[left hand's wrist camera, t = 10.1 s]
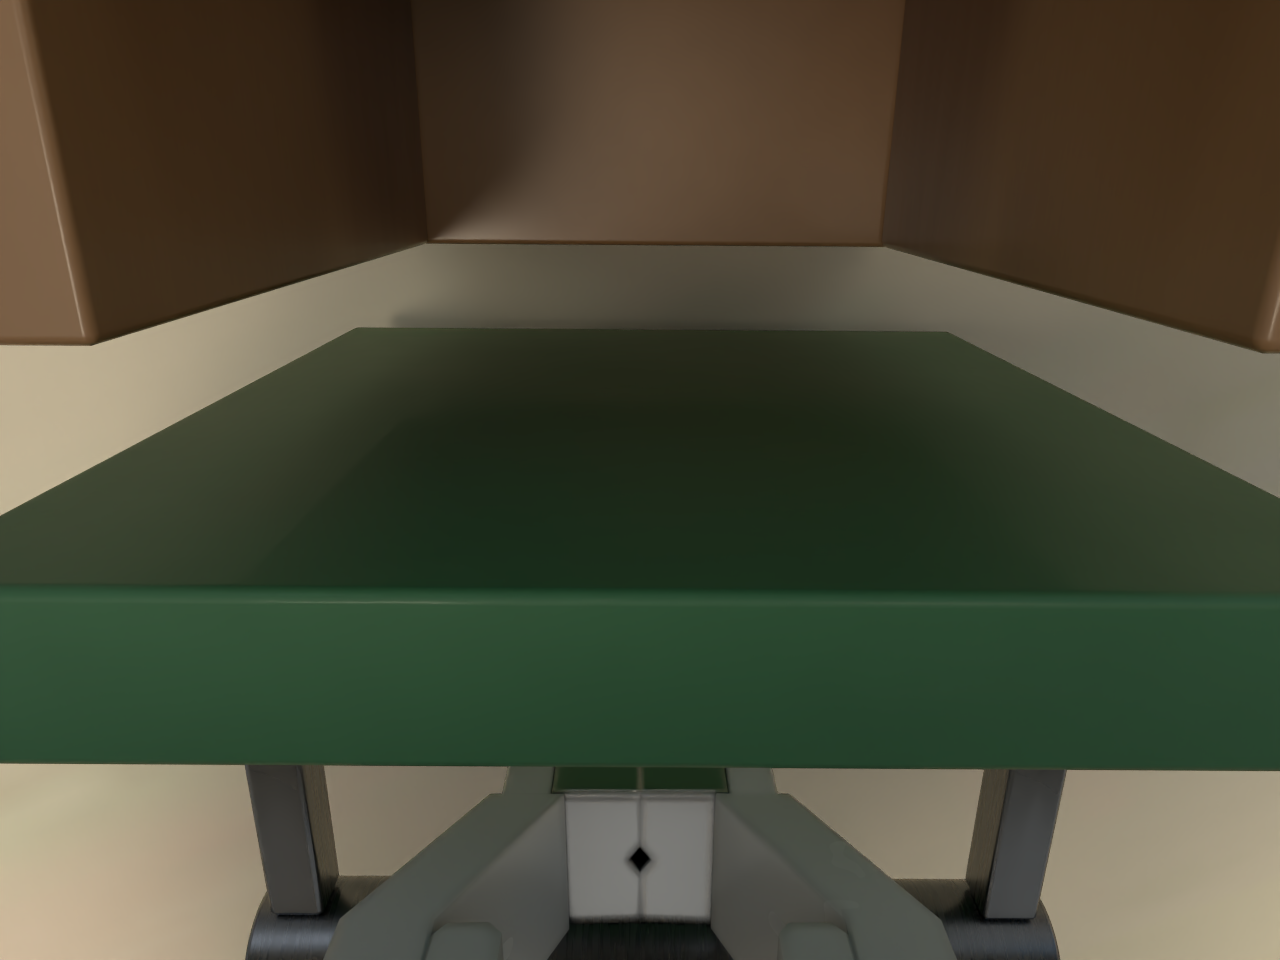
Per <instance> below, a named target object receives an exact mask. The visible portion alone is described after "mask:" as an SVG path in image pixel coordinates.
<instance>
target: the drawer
mask: <svg viewBox="0 0 1280 960" xmlns="http://www.w3.org/2000/svg"><path fill="white" fill-rule="evenodd" d="M425 243H433V244H565V245H698V246H831V247H887V248H890V249H894V250H898V251H901V252H905V253H908V254H912V255H915V256H919V257H922V258H926V259H929V260H933V261H937V262H940V263H944V264H947V265H951V266H954V267H958V268H961V269H965V270H969V271H972V272H976V273H979V274H983V275H986V276H990V277H993V278H997V279H1001V280H1004V281H1008V282H1011V283H1015V284H1018V285H1022V286H1025V287H1029V288H1032V289H1036V290H1040V291H1043V292H1047V293H1050V294H1054V295H1057V296H1061V297H1064V298H1068V299H1072V300H1075V301H1079V302H1082V303H1086V304H1089V305H1093V306H1096V307H1100V308H1104V309H1107V310H1111V311H1114V312H1118V313H1121V314H1125V315H1128V316H1132V317H1135V318H1139V319H1143V320H1146V321H1150V322H1153V323H1157V324H1160V325H1164V326H1167V327H1171V328H1175V329H1178V330H1182V331H1185V332H1189V333H1192V334H1196V335H1199V336H1203V337H1207V338H1210V339H1214V340H1217V341H1221V342H1224V343H1228V344H1231V345H1235V346H1238V347H1242V348H1246V349H1249V350H1253V351H1256V352H1260V353H1280V0H0V345H64V346H92V345H95V344H98V343H102V342H105V341H108V340H112V339H115V338H118V337H121V336H125V335H128V334H131V333H134V332H138V331H141V330H144V329H147V328H151V327H154V326H157V325H161V324H164V323H167V322H170V321H174V320H177V319H180V318H183V317H187V316H190V315H193V314H197V313H200V312H203V311H206V310H210V309H213V308H216V307H219V306H223V305H226V304H229V303H233V302H236V301H239V300H242V299H246V298H249V297H252V296H255V295H259V294H262V293H265V292H269V291H272V290H275V289H278V288H282V287H285V286H288V285H291V284H295V283H298V282H301V281H304V280H308V279H311V278H314V277H318V276H321V275H324V274H327V273H331V272H334V271H337V270H340V269H344V268H347V267H350V266H354V265H357V264H360V263H363V262H367V261H370V260H373V259H376V258H380V257H383V256H386V255H390V254H393V253H396V252H399V251H403V250H406V249H409V248H412V247H416V246H419V245H422V244H425ZM0 763H19V764H186V765H245V769H246V775H247V780H248V786H249V791H250V797H251V803H252V808H253V814H254V820H255V825H256V831H257V837H258V842H259V848H260V853H261V859H262V865H263V870H264V876H265V882H266V887H267V892H266V894H265V896H264V897H263V899H262V902H261V904H260V906H259V908H258V911H257V914H256V916H255V919H254V922H253V926H252V929H251V933H250V937H249V941H248V946H247V952H246V958H245V960H323V959H324V956H325V954H326V951H327V949H328V946H329V944H330V942H331V939H332V937H333V934H334V932H335V929H336V927H337V924H338V922H339V919H340V918H341V917H342V916H344V915H345V914H346V913H347V912H348V911H350V910H351V909H352V908H353V907H354V906H356V905H357V904H358V903H359V902H360V901H362V900H363V899H364V898H365V897H367V896H368V895H369V894H370V893H371V892H373V891H374V890H375V889H376V888H377V887H379V886H380V885H381V884H382V883H383V882H385V881H386V880H387V879H388V878H389V877H391V876H339V871H338V864H337V857H336V849H335V842H334V835H333V828H332V821H331V814H330V807H329V800H328V792H327V785H326V778H325V771H324V765H354V766H522V767H689V768H857V769H984V772H983V778H982V784H981V790H980V796H979V801H978V807H977V813H976V819H975V825H974V831H973V837H972V842H971V848H970V854H969V860H968V866H967V872H966V879H892V880H894V881H895V882H896V883H897V884H898V885H900V886H901V887H902V888H903V889H904V890H906V891H907V892H908V893H909V894H910V895H912V896H913V897H914V898H915V899H916V900H918V901H919V902H920V903H921V904H922V905H924V906H925V907H926V908H927V909H928V910H930V911H931V912H932V913H933V914H934V915H936V916H937V917H938V918H939V919H940V920H941V921H942V923H943V926H944V928H945V931H946V933H947V936H948V938H949V941H950V943H951V946H952V948H953V951H954V953H955V956H956V958H957V960H1060V956H1059V950H1058V946H1057V941H1056V937H1055V934H1054V930H1053V927H1052V924H1051V921H1050V919H1049V916H1048V914H1047V911H1046V909H1045V907H1044V905H1043V903H1042V901H1041V900H1040V895H1041V890H1042V885H1043V881H1044V876H1045V871H1046V866H1047V862H1048V857H1049V852H1050V847H1051V843H1052V838H1053V833H1054V828H1055V824H1056V819H1057V814H1058V809H1059V805H1060V800H1061V795H1062V790H1063V786H1064V781H1065V776H1066V771H1067V770H1192V771H1280V498H1278V497H1276V496H1274V495H1272V494H1270V493H1268V492H1266V491H1264V490H1262V489H1260V488H1258V487H1256V486H1254V485H1252V484H1250V483H1248V482H1246V481H1244V480H1242V479H1240V478H1238V477H1236V476H1234V475H1232V474H1230V473H1228V472H1226V471H1224V470H1222V469H1220V468H1218V467H1216V466H1214V465H1212V464H1210V463H1208V462H1206V461H1204V460H1202V459H1200V458H1198V457H1196V456H1194V455H1192V454H1190V453H1188V452H1186V451H1184V450H1182V449H1180V448H1178V447H1176V446H1174V445H1172V444H1170V443H1168V442H1166V441H1164V440H1162V439H1160V438H1158V437H1156V436H1154V435H1152V434H1150V433H1148V432H1146V431H1144V430H1142V429H1140V428H1138V427H1136V426H1134V425H1132V424H1130V423H1128V422H1126V421H1124V420H1122V419H1120V418H1118V417H1116V416H1114V415H1112V414H1110V413H1108V412H1106V411H1104V410H1102V409H1100V408H1098V407H1096V406H1094V405H1092V404H1090V403H1088V402H1086V401H1084V400H1082V399H1080V398H1078V397H1076V396H1074V395H1072V394H1070V393H1068V392H1066V391H1064V390H1062V389H1060V388H1058V387H1056V386H1054V385H1052V384H1050V383H1048V382H1046V381H1044V380H1042V379H1040V378H1038V377H1036V376H1034V375H1032V374H1030V373H1028V372H1026V371H1024V370H1022V369H1020V368H1018V367H1016V366H1014V365H1012V364H1010V363H1008V362H1006V361H1004V360H1002V359H1000V358H998V357H996V356H994V355H992V354H990V353H988V352H986V351H984V350H982V349H980V348H978V347H976V346H974V345H972V344H970V343H968V342H966V341H964V340H962V339H960V338H958V337H956V336H954V335H952V334H950V333H948V332H894V331H756V330H619V329H482V328H355V329H353V330H351V331H349V332H347V333H345V334H344V335H342V336H340V337H338V338H336V339H334V340H332V341H330V342H328V343H326V344H325V345H323V346H321V347H319V348H317V349H315V350H313V351H311V352H309V353H308V354H306V355H304V356H302V357H300V358H298V359H296V360H294V361H292V362H290V363H289V364H287V365H285V366H283V367H281V368H279V369H277V370H275V371H273V372H272V373H270V374H268V375H266V376H264V377H262V378H260V379H258V380H256V381H255V382H253V383H251V384H249V385H247V386H245V387H243V388H241V389H239V390H237V391H236V392H234V393H232V394H230V395H228V396H226V397H224V398H222V399H220V400H219V401H217V402H215V403H213V404H211V405H209V406H207V407H205V408H203V409H202V410H200V411H198V412H196V413H194V414H192V415H190V416H188V417H186V418H184V419H183V420H181V421H179V422H177V423H175V424H173V425H171V426H169V427H167V428H166V429H164V430H162V431H160V432H158V433H156V434H154V435H152V436H150V437H148V438H147V439H145V440H143V441H141V442H139V443H137V444H135V445H133V446H131V447H130V448H128V449H126V450H124V451H122V452H120V453H118V454H116V455H114V456H113V457H111V458H109V459H107V460H105V461H103V462H101V463H99V464H97V465H95V466H94V467H92V468H90V469H88V470H86V471H84V472H82V473H80V474H78V475H77V476H75V477H73V478H71V479H69V480H67V481H65V482H63V483H61V484H60V485H58V486H56V487H54V488H52V489H50V490H48V491H46V492H44V493H42V494H41V495H39V496H37V497H35V498H33V499H31V500H29V501H27V502H25V503H24V504H22V505H20V506H18V507H16V508H14V509H12V510H10V511H8V512H7V513H5V514H3V515H1V516H0ZM547 960H733V958H732V957H731V955H730V954H729V953H728V951H727V950H726V949H725V947H724V946H723V944H722V943H721V942H720V940H719V939H718V937H717V936H716V935H715V933H714V932H713V930H712V929H711V924H681V923H646V922H632V923H598V924H569V930H568V931H567V933H566V934H565V935H564V937H563V938H562V940H561V941H560V942H559V944H558V945H557V947H556V948H555V949H554V951H553V952H552V953H551V955H550V956H549V958H548V959H547Z"/></svg>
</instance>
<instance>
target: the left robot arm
mask: <svg viewBox="0 0 1280 960" xmlns="http://www.w3.org/2000/svg"><path fill="white" fill-rule="evenodd" d="M632 922H646V923H681V924H711V929H712V930H713V932H714V933H715V935H716V936H717V937H718V939H719V940H720V942H721V943H722V944H723V946H724V947H725V949H726V950H727V951H728V953H729V954H730V955H731V957H732V958H733V960H957V958H956V956H955V953H954V951H953V948H952V946H951V943H950V941H949V938H948V936H947V933H946V931H945V928H944V926H943V923H942V921H941V920H940V919H939V918H938V917H937V916H936V915H934V914H933V913H932V912H931V911H930V910H928V909H927V908H926V907H925V906H924V905H922V904H921V903H920V902H919V901H918V900H916V899H915V898H914V897H913V896H912V895H910V894H909V893H908V892H907V891H906V890H904V889H903V888H902V887H901V886H900V885H898V884H897V883H896V882H895V881H894V880H892V879H891V878H890V877H889V876H888V875H886V874H885V873H884V872H883V871H882V870H880V869H879V868H878V867H877V866H876V865H874V864H873V863H872V862H871V861H870V860H868V859H867V858H866V857H865V856H864V855H862V854H861V853H860V852H859V851H858V850H856V849H855V848H854V847H853V846H852V845H850V844H849V843H848V842H847V841H846V840H844V839H843V838H842V837H841V836H840V835H838V834H837V833H836V832H835V831H834V830H832V829H831V828H830V827H829V826H828V825H826V824H825V823H824V822H823V821H822V820H820V819H819V818H818V817H817V816H816V815H814V814H813V813H812V812H811V811H810V810H808V809H807V808H806V807H805V806H804V805H802V804H801V803H800V802H799V801H798V800H796V799H795V798H794V797H793V796H792V795H790V794H778V793H777V788H776V784H775V779H774V775H773V770H772V768H689V767H522V766H508V770H507V774H506V779H505V783H504V788H503V792H502V794H490V795H488V796H487V797H486V798H485V799H484V800H482V801H481V802H480V803H479V804H477V805H476V806H475V807H474V808H473V809H471V810H470V811H469V812H468V813H467V814H465V815H464V816H463V817H462V818H461V819H459V820H458V821H457V822H456V823H455V824H453V825H452V826H451V827H450V828H449V829H447V830H446V831H445V832H444V833H443V834H441V835H440V836H439V837H438V838H436V839H435V840H434V841H433V842H432V843H430V844H429V845H428V846H427V847H426V848H424V849H423V850H422V851H421V852H420V853H418V854H417V855H416V856H415V857H414V858H412V859H411V860H410V861H409V862H408V863H406V864H405V865H404V866H403V867H401V868H400V869H399V870H398V871H397V872H395V873H394V874H393V875H392V876H391V877H389V878H388V879H387V880H386V881H385V882H383V883H382V884H381V885H380V886H379V887H377V888H376V889H375V890H374V891H373V892H371V893H370V894H369V895H368V896H367V897H365V898H364V899H363V900H362V901H360V902H359V903H358V904H357V905H356V906H354V907H353V908H352V909H351V910H350V911H348V912H347V913H346V914H345V915H344V916H342V917H341V918H340V919H339V922H338V924H337V927H336V929H335V932H334V934H333V937H332V939H331V942H330V944H329V946H328V949H327V951H326V954H325V956H324V959H323V960H547V959H548V958H549V956H550V955H551V953H552V952H553V951H554V949H555V948H556V947H557V945H558V944H559V942H560V941H561V940H562V938H563V937H564V935H565V934H566V933H567V931H568V930H569V924H598V923H632Z"/></svg>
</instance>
